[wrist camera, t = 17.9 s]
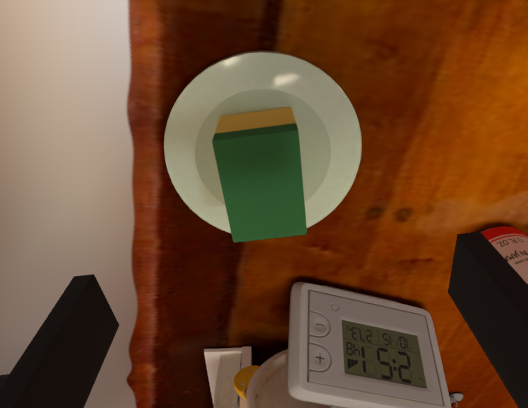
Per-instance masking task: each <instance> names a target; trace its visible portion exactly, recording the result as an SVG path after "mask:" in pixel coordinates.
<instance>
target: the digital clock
mask: <svg viewBox="0 0 528 408" xmlns="http://www.w3.org/2000/svg"><path fill="white" fill-rule="evenodd" d="M287 390H288V393H289V395H290V396H291V397H293V398H295V399H297V400H301V401H307V402H313V403H318V404H324V405H329V406H330V408H451V403H450V398H449V393H448V389H447V384H446V379H445V375H444V370H443V366H442V361H441V357H440V352H439V348H438V343H437V339H436V334H435V330H434V325H433V321H432V318H431V315H430V314H429V312H428V311H426V310H424V309H421V308H418V307H414V306H409V305H405V304H401V303H399V302H397V301H392V300H388V299H384V298H379V297H375V296H370V295H366V294H361V293H357V292H353V291H348V290H344V289H339V288H335V287H331V286H326V285H324V286H321V285H316V284H311V283H305V282H296V283H294V285H293V286H292V289H291V296H290V317H289V340H288V362H287Z"/></svg>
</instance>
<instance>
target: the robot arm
mask: <svg viewBox="0 0 528 408" xmlns="http://www.w3.org/2000/svg"><path fill="white" fill-rule="evenodd" d="M448 293H449V295H450V296H451V298H452V300H453V301H454V303H455V305H456V306H457V308H458V309H459V311H460V313H461V314H462V316H463V318H464V319H465V321H466V323H467V324H468V326H469V328H470V329H471V331H472V332H473V334H474V336H475V337H476V339H477V341H478V342H479V344H480V346H481V347H482V349H483V350H484V352H485V354H486V355H487V357H488V359H489V360H490V362H491V364H492V365H493V367H494V368H495V370H496V372H497V373H498V375H499V377H500V378H501V380H502V382H503V383H504V385H505V386H506V388H507V390H508V391H509V393H510V395H511V396H512V398H513V400H514V401H515V403H516V404H517V406H518V408H528V284H527V283H526V282H525V281H524V280H523V278H522V277H521V276H520V275H519V274H518V273H517V272H516V271H515V270H514V268H513V267H512V266H511V265H510V264H509V263H508V262H507V261H506V260H505V258H504V257H503V256H502V255H501V254H500V253H499V252H498V251H497V250H496V248H495V247H494V246H493V245H492V244H491V243H490V242H489V241H488V240H487V238H486V237H485V236H484V235H483V234H482V233H481V232H474V233H465V234H458V235H457V241H456V247H455V253H454V259H453V265H452V271H451V277H450V283H449V289H448ZM118 327H119V324H118V322H117V320H116V318H115V316H114V314H113V312H112V310H111V308H110V306H109V304H108V302H107V300H106V298H105V296H104V294H103V292H102V290H101V288H100V286H99V284H98V282H97V280H96V278H95V276H94V274H93V275H84V276H75V277H74V278H73V279H72V281H71V282H70V284H69V285H68V287H67V288H66V290H65V291H64V293H63V294H62V296H61V297H60V299H59V300H58V302H57V303H56V305H55V306H54V308H53V309H52V311H51V312H50V314H49V315H48V317H47V318H46V320H45V321H44V323H43V324H42V326H41V327H40V329H39V331H38V332H37V334H36V335H35V337H34V338H33V340H32V341H31V343H30V344H29V346H28V347H27V349H26V350H25V352H24V353H23V355H22V356H21V358H20V359H19V361H18V362H17V364H16V365H15V367H14V368H13V370H12V371H11V373H10V374H8V375H1V376H0V408H84V406H85V403H86V401H87V399H88V396H89V394H90V392H91V389H92V387H93V384H94V382H95V380H96V378H97V375H98V373H99V371H100V369H101V366H102V363H103V362H104V359H105V357H106V355H107V352H108V350H109V348H110V345H111V343H112V341H113V338H114V336H115V334H116V331H117V329H118Z"/></svg>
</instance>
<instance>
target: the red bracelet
mask: <svg viewBox="0 0 528 408" xmlns="http://www.w3.org/2000/svg"><path fill="white" fill-rule="evenodd" d="M453 396H454V398H453ZM462 398H463V394H460V393H454V394H451V396H450V403H456V404H457V402H453V400H454V401H455V399H456V400H457V401H461V400H462ZM454 408H457V405H456V406H454Z"/></svg>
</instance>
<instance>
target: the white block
mask: <svg viewBox="0 0 528 408" xmlns="http://www.w3.org/2000/svg"><path fill="white" fill-rule="evenodd" d="M204 356H205V361H206V367H207V373H208V378H209V384H210V389H211V395H212V400H213V406H214V408H247V399H243V398H242V397H240V396H239V395H238V393H237V392H236V390H235V388H234V385H233V380H234V377H235V375H236V374H237V373H238V372H239V371H240V370H241V369H243V368H245V367H248V366H252V365H253V364H252V351H251V346H249V347H242V348H220V349H204Z"/></svg>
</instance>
